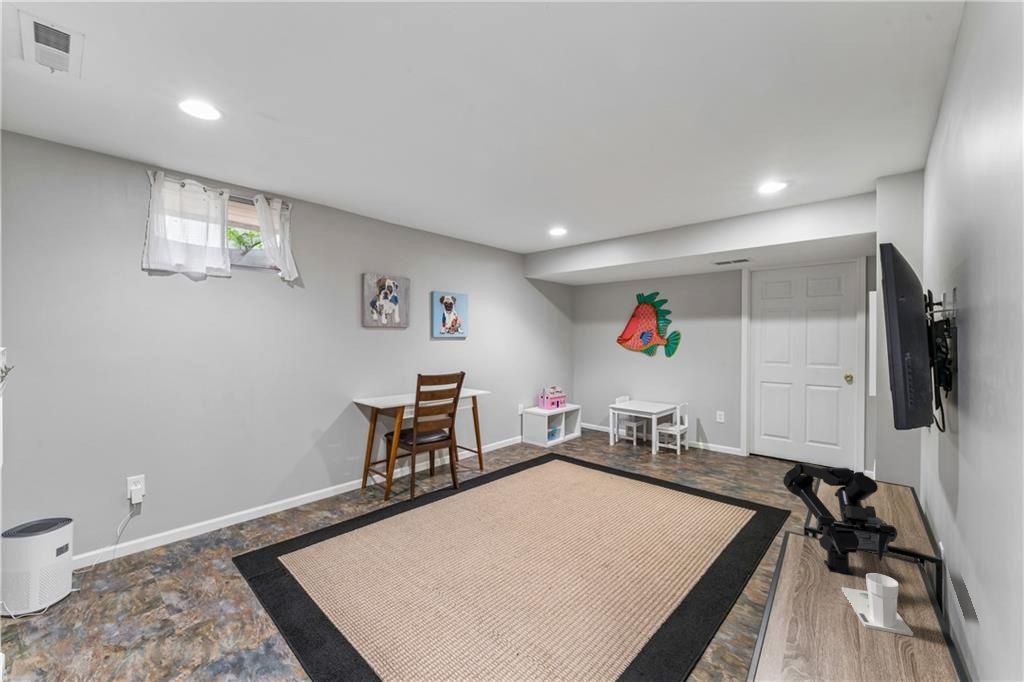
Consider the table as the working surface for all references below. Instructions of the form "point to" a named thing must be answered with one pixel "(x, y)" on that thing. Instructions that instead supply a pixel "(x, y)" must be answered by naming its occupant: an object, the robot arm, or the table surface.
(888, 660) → the table surface
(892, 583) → the cup
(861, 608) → the indicator panel
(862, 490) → the robot arm
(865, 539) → the small box
